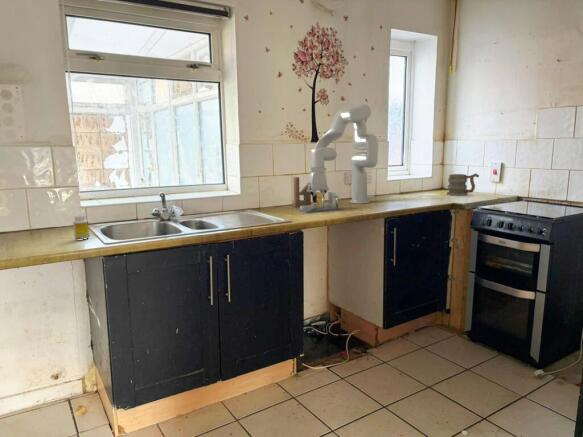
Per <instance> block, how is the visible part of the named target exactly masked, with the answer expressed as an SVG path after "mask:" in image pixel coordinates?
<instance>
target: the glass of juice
mask: <svg viewBox="0 0 583 437" xmlns="http://www.w3.org/2000/svg"><path fill="white" fill-rule="evenodd" d="M72 225H73V234H74V240H75V239H84V238H88V237H89V238H90V233H89V222H88V220H87V219H86V216H85V214H80V215H75V216H74V220H73V222H72Z"/></svg>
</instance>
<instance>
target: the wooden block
mask: <svg viewBox="0 0 583 437" xmlns="http://www.w3.org/2000/svg"><path fill="white" fill-rule="evenodd" d="M292 181H293V182H292V184H293V186H292V188H293V200H292V207H294V208H300V206H305V205H312V195H311V194H310V193H309V192H307V189H308V183H309V182H307V184H305V185H304V187H303V188H302V189H301V191H300V177H299V176H294V177H293V180H292ZM310 191H312V190H310ZM300 196H303V199H300Z"/></svg>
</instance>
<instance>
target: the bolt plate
mask: <svg viewBox="0 0 583 437" xmlns="http://www.w3.org/2000/svg"><path fill="white" fill-rule="evenodd" d="M296 211H299V212H301V213H305V214H311V213H314V214H315V213H321V212H322V213H323V212H332V211H342V207H340V206H338V207H336V205H334V207H324V208H313V209H300V207H296Z"/></svg>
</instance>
